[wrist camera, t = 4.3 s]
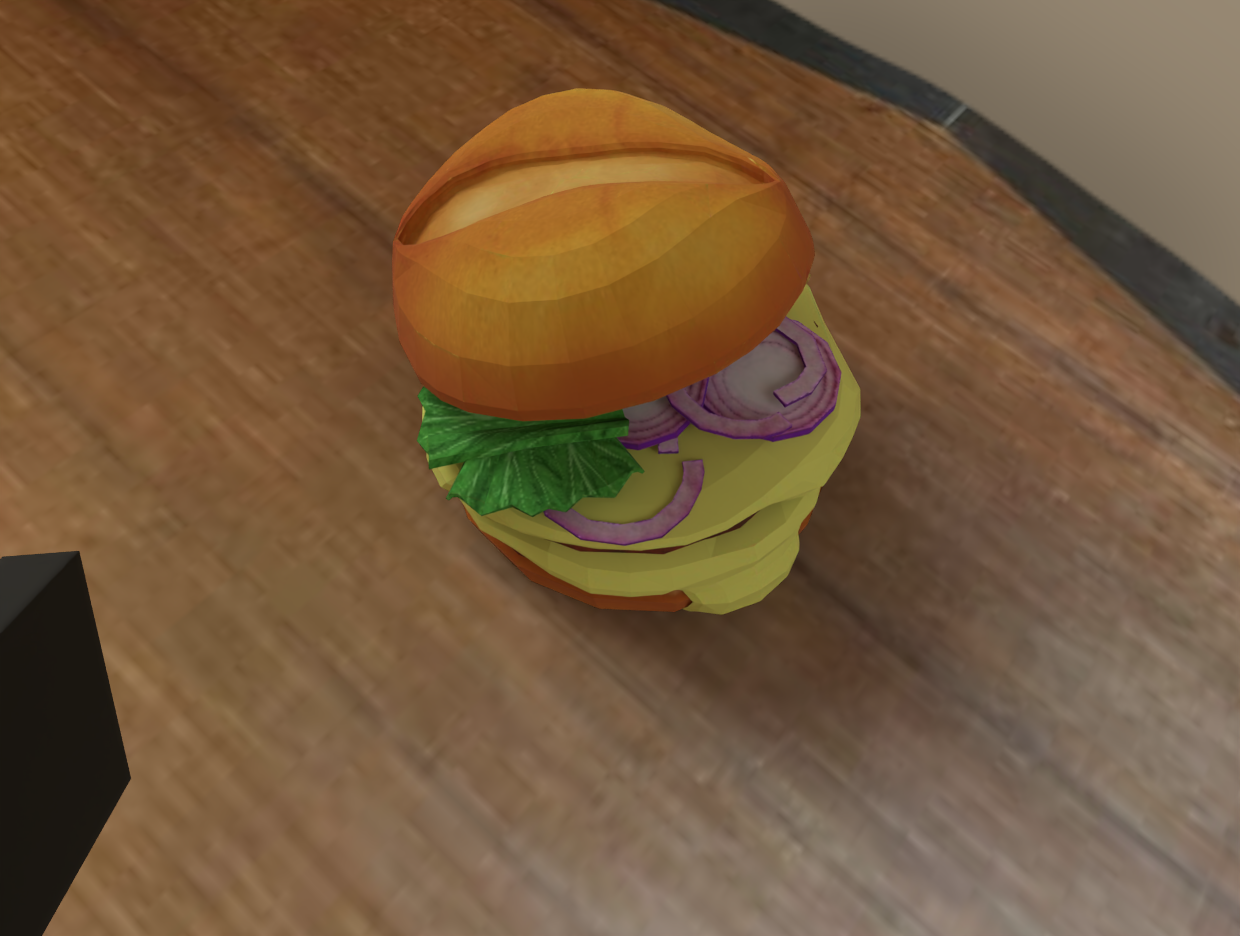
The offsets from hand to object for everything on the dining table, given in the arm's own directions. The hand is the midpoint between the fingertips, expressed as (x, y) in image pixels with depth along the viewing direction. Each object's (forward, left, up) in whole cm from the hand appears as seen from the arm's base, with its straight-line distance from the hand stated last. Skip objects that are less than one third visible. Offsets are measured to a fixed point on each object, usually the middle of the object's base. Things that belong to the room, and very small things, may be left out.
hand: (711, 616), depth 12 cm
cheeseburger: (+2, -9, -14) cm, 17 cm away
